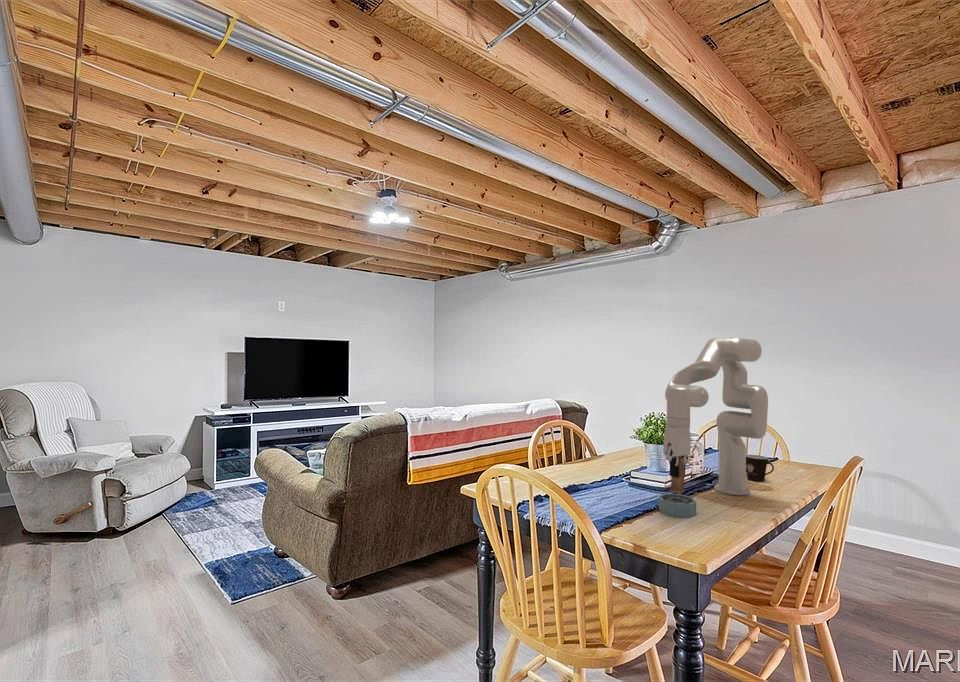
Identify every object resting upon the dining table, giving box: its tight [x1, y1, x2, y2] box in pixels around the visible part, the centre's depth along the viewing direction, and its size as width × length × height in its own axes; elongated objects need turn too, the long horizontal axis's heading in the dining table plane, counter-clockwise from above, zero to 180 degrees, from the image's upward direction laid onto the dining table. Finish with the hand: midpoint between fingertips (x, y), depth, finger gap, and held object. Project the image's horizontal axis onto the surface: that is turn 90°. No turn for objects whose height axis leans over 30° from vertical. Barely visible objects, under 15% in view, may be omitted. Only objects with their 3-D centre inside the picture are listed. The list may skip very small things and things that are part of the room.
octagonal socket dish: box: [658, 493, 697, 519], centre depth 167 cm, size 11×11×4 cm
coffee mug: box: [746, 454, 775, 483], centre depth 209 cm, size 12×9×10 cm
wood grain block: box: [670, 456, 685, 495], centre depth 167 cm, size 3×3×12 cm
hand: (677, 475), depth 167 cm, fingers closed on wood grain block, 3 cm apart
